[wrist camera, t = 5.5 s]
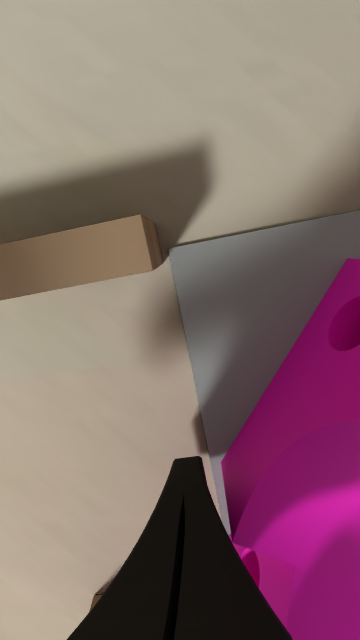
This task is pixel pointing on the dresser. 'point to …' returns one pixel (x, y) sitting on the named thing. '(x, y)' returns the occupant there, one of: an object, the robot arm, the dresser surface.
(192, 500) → the robot arm
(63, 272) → the pair of brown pieces
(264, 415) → the toy block
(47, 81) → the dresser surface
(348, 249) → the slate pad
